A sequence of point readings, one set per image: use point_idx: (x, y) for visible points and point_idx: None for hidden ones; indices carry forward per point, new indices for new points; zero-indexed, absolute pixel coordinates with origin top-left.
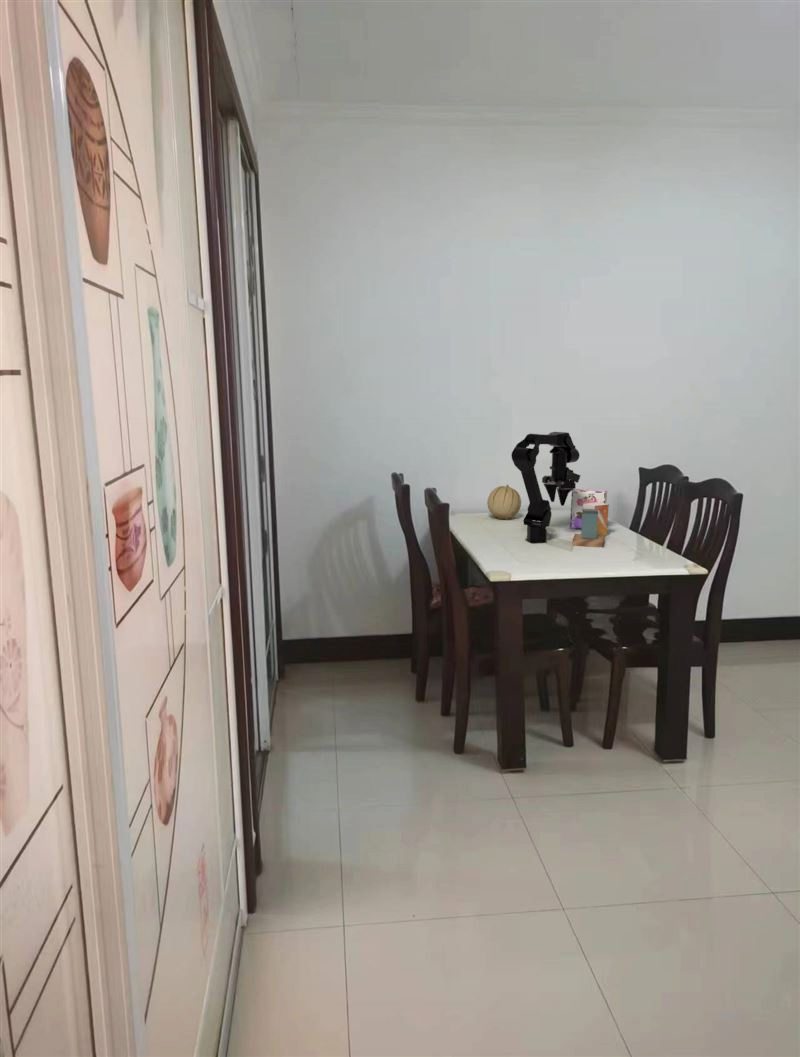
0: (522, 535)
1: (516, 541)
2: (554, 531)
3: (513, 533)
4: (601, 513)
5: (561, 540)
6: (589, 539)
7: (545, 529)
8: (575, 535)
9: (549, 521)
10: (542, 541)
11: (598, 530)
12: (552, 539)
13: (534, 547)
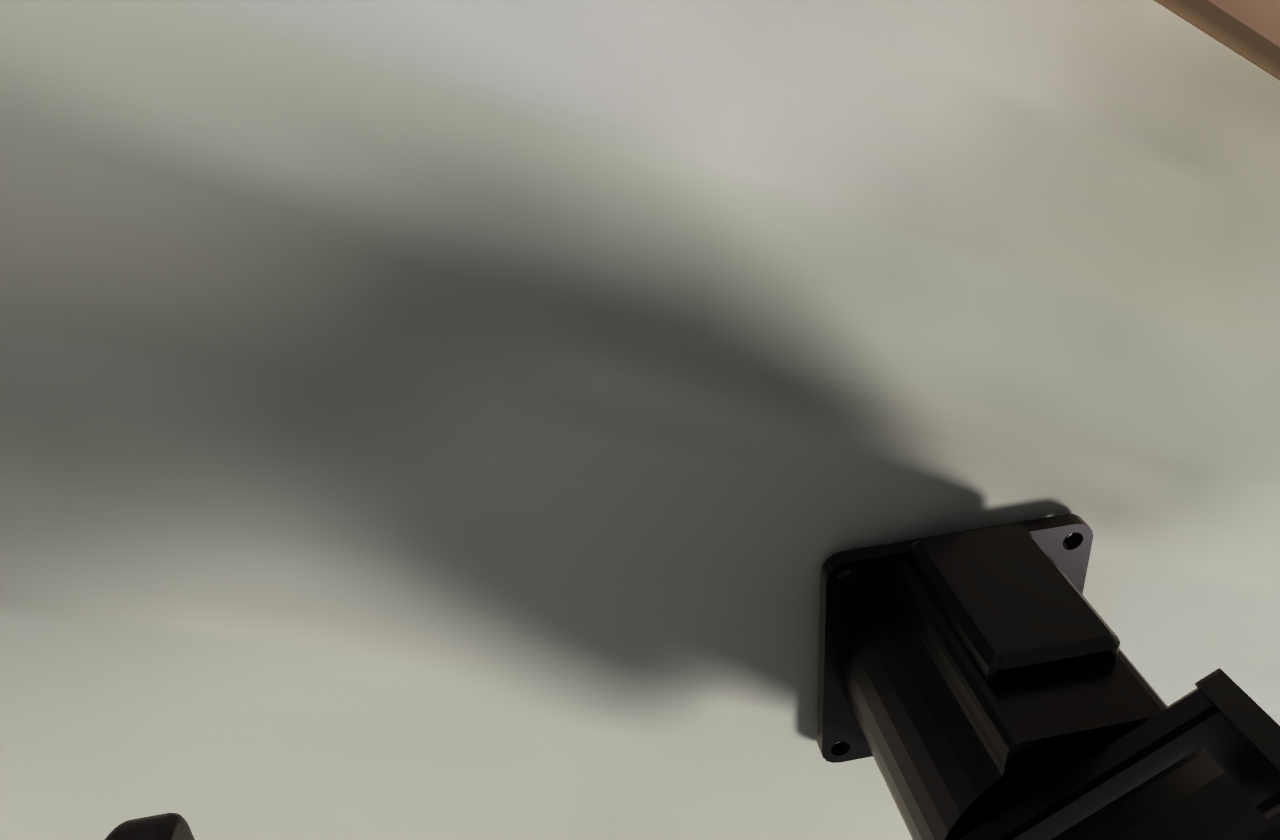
0: (467, 736)
1: (864, 836)
2: (13, 80)
3: (296, 828)
4: None
5: (992, 229)
6: None
7: (1115, 658)
8: (1276, 10)
9: (1278, 730)
10: (1082, 585)
11: None
12: (868, 364)
13: (1254, 698)
